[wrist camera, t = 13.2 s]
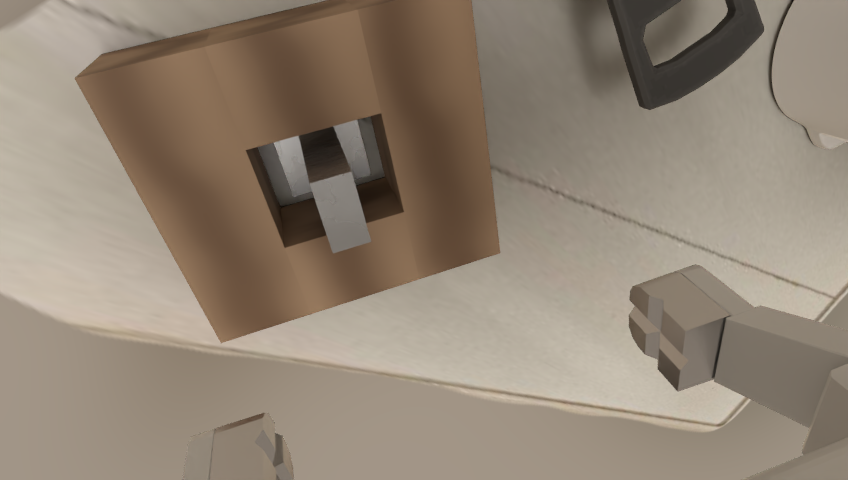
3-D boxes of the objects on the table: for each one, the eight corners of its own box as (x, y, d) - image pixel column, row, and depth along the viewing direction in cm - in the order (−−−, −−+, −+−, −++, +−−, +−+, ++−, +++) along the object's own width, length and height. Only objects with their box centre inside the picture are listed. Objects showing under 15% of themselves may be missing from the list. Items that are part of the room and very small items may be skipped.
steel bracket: (353, 109, 31) (382, 162, 24) (368, 168, 33) (399, 233, 26) (271, 131, 31) (277, 192, 24) (292, 190, 33) (303, 262, 26)
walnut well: (437, -26, 29) (469, -18, 25) (472, 217, 38) (500, 253, 33) (102, 54, 26) (74, 78, 22) (224, 293, 35) (221, 342, 31)
